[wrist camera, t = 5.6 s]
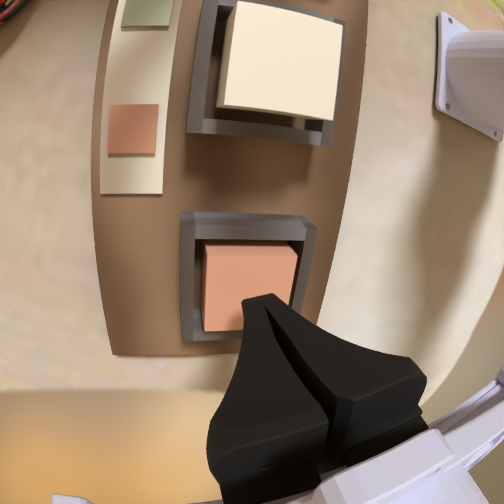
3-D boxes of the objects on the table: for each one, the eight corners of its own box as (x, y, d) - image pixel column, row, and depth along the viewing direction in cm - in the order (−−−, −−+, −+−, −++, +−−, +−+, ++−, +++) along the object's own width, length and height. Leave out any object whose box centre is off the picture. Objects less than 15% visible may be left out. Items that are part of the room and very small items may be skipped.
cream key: (316, 37, 11) (342, 25, 9) (307, 119, 12) (332, 120, 10) (226, 20, 10) (237, 0, 8) (215, 107, 11) (224, 104, 9)
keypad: (358, -91, 8) (380, -108, 5) (304, 337, 21) (321, 365, 18) (164, -127, 5) (165, -152, 2) (114, 344, 18) (109, 377, 15)
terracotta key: (281, 236, 16) (297, 255, 14) (270, 301, 17) (283, 327, 15) (202, 234, 15) (207, 255, 13) (200, 303, 16) (204, 331, 14)
